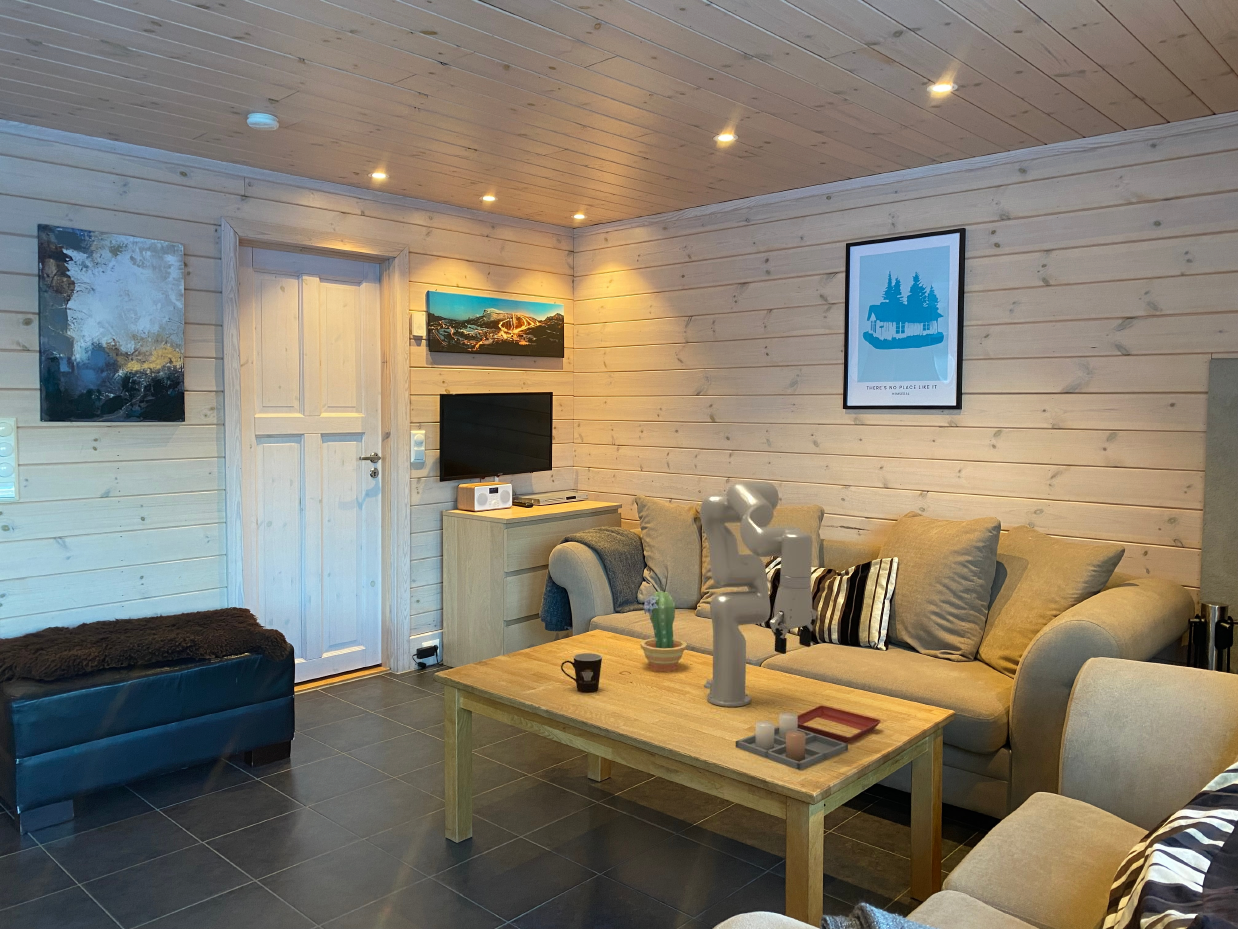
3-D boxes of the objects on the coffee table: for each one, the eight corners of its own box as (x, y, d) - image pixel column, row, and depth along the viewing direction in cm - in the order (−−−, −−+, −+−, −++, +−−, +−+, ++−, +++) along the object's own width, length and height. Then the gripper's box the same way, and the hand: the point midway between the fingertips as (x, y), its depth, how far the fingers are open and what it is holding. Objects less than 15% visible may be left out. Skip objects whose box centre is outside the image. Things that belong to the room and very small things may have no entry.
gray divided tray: (735, 750, 226) (735, 741, 226) (784, 732, 239) (784, 723, 239) (799, 773, 211) (799, 763, 211) (847, 753, 224) (847, 744, 224)
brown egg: (781, 758, 219) (782, 733, 218) (793, 753, 222) (793, 729, 221) (797, 763, 215) (797, 738, 215) (809, 759, 218) (809, 734, 218)
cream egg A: (751, 747, 226) (751, 723, 225) (763, 743, 229) (763, 719, 228) (766, 752, 222) (766, 728, 222) (777, 748, 225) (778, 724, 225)
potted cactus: (640, 661, 307) (640, 587, 306) (686, 661, 307) (687, 588, 305) (639, 673, 292) (640, 596, 291) (687, 674, 291) (688, 597, 290)
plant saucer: (882, 731, 241) (882, 719, 241) (849, 749, 228) (849, 736, 228) (820, 716, 253) (821, 704, 253) (786, 732, 240) (786, 720, 240)
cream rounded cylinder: (775, 738, 232) (775, 715, 231) (786, 734, 235) (786, 711, 235) (789, 743, 228) (790, 720, 228) (800, 739, 231) (801, 716, 231)
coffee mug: (606, 687, 277) (606, 655, 276) (594, 695, 269) (594, 662, 268) (572, 682, 282) (572, 650, 281) (559, 690, 274) (559, 657, 273)
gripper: (804, 574, 235) (802, 639, 237) (761, 583, 224) (758, 651, 225) (829, 580, 229) (826, 646, 231) (785, 589, 218) (782, 659, 220)
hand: (792, 649), depth 228 cm, fingers open, 9 cm apart
